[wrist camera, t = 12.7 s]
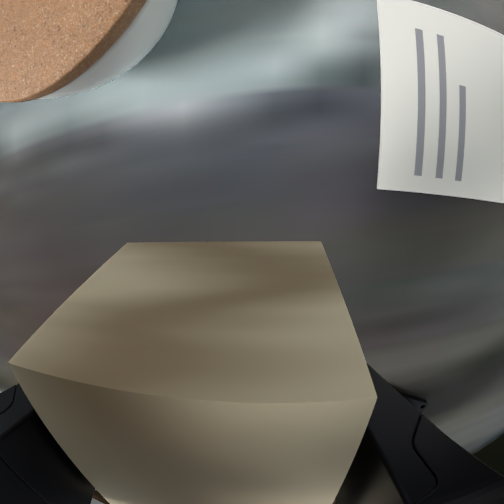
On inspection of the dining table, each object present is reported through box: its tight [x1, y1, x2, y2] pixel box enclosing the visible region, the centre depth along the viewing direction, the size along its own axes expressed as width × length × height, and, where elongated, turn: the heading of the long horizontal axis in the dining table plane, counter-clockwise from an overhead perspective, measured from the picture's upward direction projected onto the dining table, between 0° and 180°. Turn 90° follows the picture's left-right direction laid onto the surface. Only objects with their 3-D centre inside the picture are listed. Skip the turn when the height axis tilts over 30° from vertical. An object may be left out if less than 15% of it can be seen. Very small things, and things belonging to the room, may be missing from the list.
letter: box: [377, 0, 504, 203], centre depth 14 cm, size 12×10×1 cm
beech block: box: [8, 241, 377, 504], centre depth 6 cm, size 5×5×5 cm
